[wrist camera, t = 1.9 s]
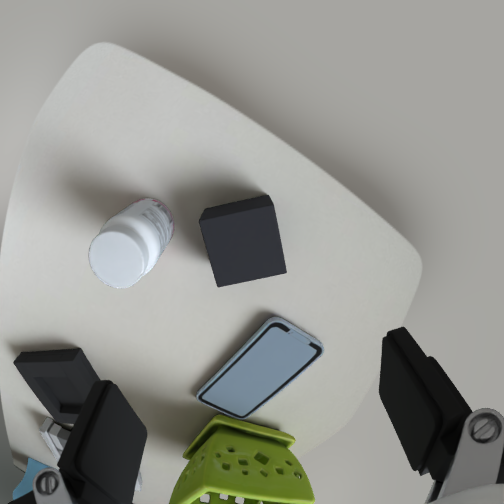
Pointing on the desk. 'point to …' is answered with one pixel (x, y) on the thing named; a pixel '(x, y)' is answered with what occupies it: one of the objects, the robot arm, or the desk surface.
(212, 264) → the dark grey square block
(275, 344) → the smartphone
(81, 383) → the base pad
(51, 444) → the alarm clock
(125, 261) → the pill bottle
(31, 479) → the vase
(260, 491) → the flower pot
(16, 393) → the desk surface
